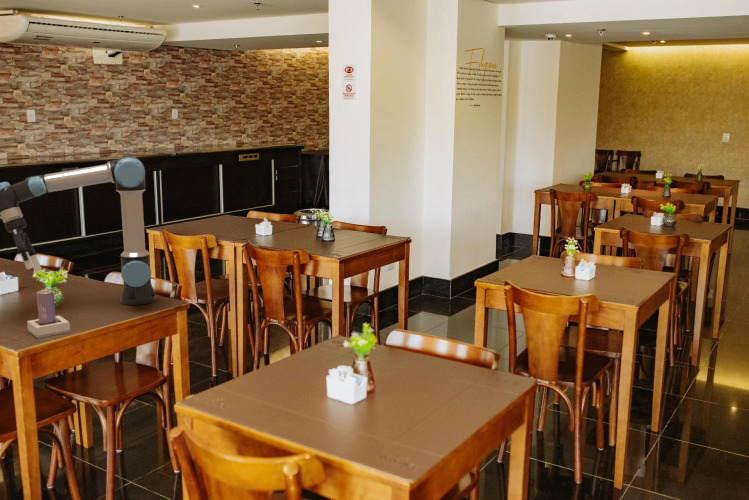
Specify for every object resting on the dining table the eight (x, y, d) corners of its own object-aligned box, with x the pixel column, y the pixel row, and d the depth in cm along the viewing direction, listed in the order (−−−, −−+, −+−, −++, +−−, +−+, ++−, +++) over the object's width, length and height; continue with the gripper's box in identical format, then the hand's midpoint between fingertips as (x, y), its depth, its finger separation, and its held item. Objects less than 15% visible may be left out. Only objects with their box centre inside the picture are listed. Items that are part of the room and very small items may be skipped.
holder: (60, 325, 292) (59, 315, 291) (70, 332, 283) (69, 322, 282) (28, 330, 284) (27, 321, 284) (37, 338, 275) (36, 327, 275)
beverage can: (59, 327, 286) (56, 289, 283) (51, 331, 280) (47, 293, 277) (45, 326, 287) (41, 289, 284) (36, 331, 281) (33, 293, 278)
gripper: (12, 227, 304) (32, 274, 304) (-5, 219, 280) (17, 271, 280) (30, 221, 306) (50, 267, 306) (15, 212, 281) (36, 263, 281)
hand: (34, 269), depth 293 cm, fingers open, 13 cm apart
